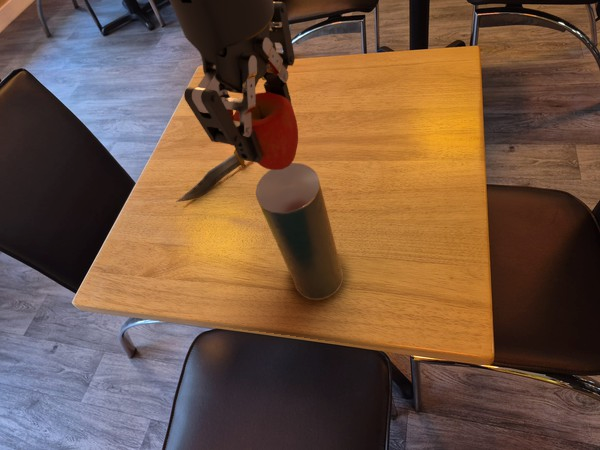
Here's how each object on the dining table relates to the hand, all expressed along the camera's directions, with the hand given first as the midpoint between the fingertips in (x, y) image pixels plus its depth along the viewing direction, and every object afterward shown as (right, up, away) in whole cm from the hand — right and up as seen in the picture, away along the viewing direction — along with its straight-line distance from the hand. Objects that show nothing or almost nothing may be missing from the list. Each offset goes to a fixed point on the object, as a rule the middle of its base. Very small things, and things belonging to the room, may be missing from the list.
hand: (268, 135), depth 45 cm
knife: (-10, +1, +41) cm, 43 cm away
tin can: (+6, -17, +24) cm, 30 cm away
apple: (+1, -2, +3) cm, 4 cm away
